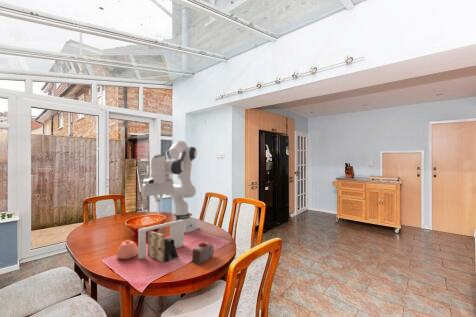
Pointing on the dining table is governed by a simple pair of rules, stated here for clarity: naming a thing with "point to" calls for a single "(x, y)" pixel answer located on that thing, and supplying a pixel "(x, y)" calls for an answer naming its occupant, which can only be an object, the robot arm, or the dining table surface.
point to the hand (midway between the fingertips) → (158, 201)
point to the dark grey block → (202, 253)
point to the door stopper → (169, 250)
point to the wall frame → (175, 227)
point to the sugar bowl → (127, 250)
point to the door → (156, 246)
